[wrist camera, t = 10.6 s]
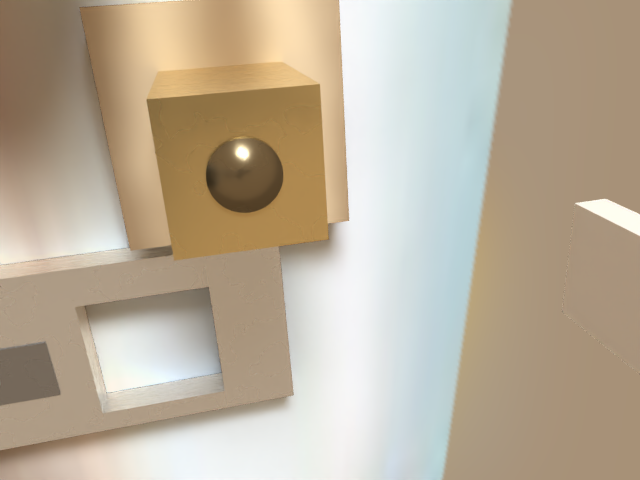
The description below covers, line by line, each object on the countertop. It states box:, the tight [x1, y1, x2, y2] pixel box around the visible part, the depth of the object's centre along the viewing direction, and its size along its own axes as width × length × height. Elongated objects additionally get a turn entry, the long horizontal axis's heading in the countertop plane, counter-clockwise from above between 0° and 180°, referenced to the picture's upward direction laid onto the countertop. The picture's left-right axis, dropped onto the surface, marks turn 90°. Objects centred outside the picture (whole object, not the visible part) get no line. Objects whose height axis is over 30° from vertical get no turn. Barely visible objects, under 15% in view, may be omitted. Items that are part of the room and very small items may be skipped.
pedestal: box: [79, 0, 349, 251], centre depth 31 cm, size 12×12×3 cm
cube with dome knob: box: [146, 61, 329, 261], centre depth 25 cm, size 6×6×9 cm
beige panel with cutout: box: [0, 245, 294, 450], centre depth 34 cm, size 22×11×2 cm, turn 94°
